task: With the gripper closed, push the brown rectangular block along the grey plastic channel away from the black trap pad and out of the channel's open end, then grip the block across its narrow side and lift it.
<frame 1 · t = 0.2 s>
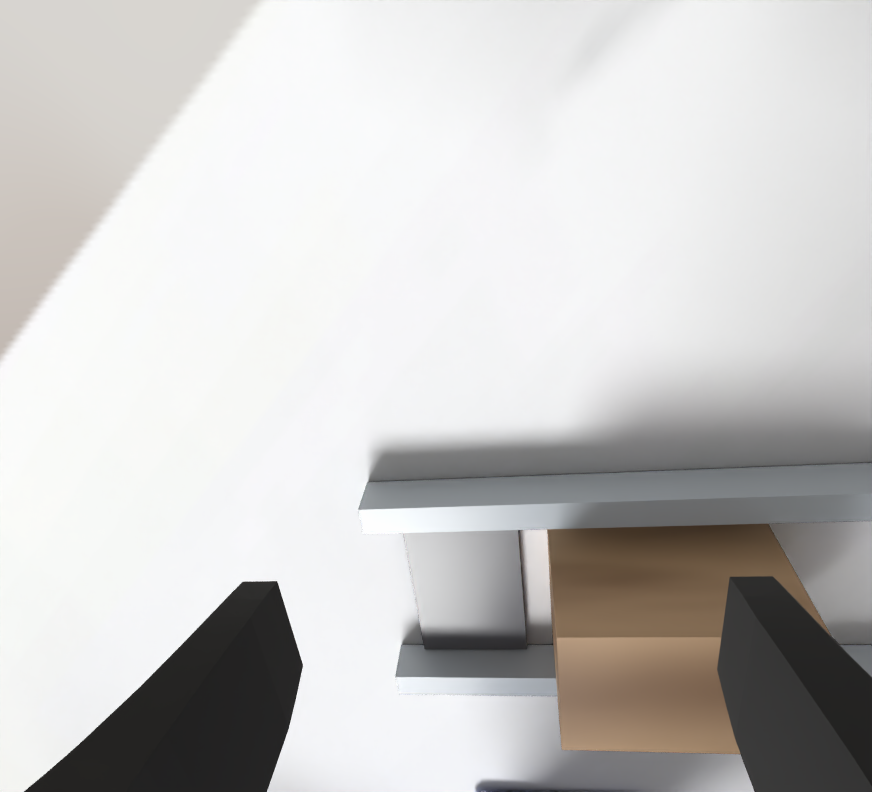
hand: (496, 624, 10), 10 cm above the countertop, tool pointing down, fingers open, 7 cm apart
channel: (664, 575, 22), on the countertop
brown rectangular block: (649, 572, 22), on the countertop
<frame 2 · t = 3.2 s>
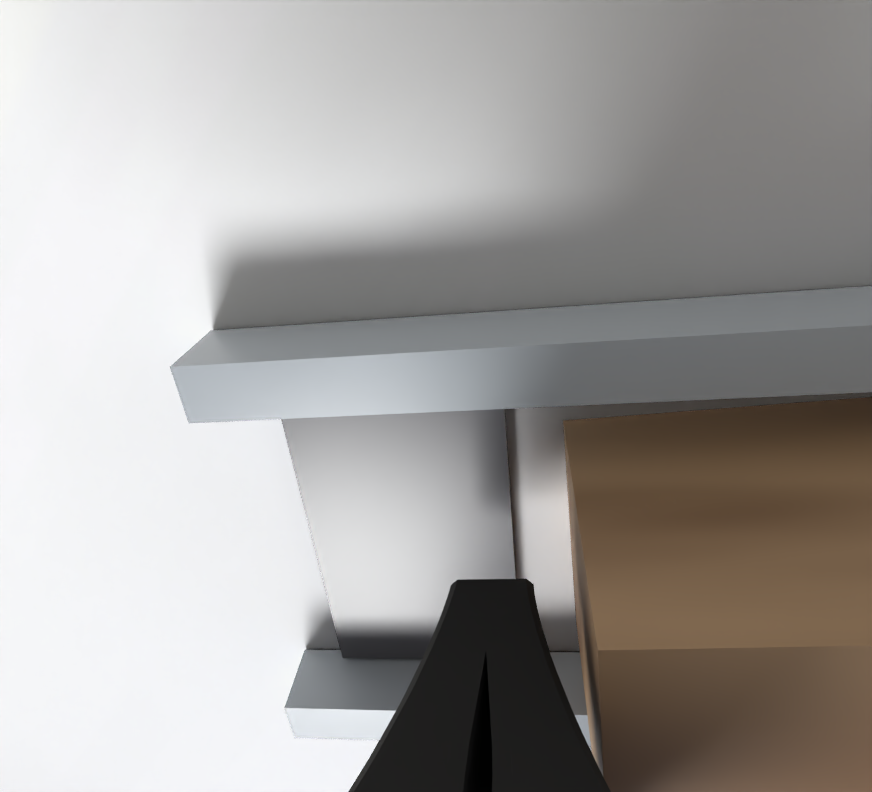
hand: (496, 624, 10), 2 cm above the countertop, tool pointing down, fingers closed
channel: (784, 522, 11), on the countertop
brown rectangular block: (760, 519, 12), on the countertop, touching gripper
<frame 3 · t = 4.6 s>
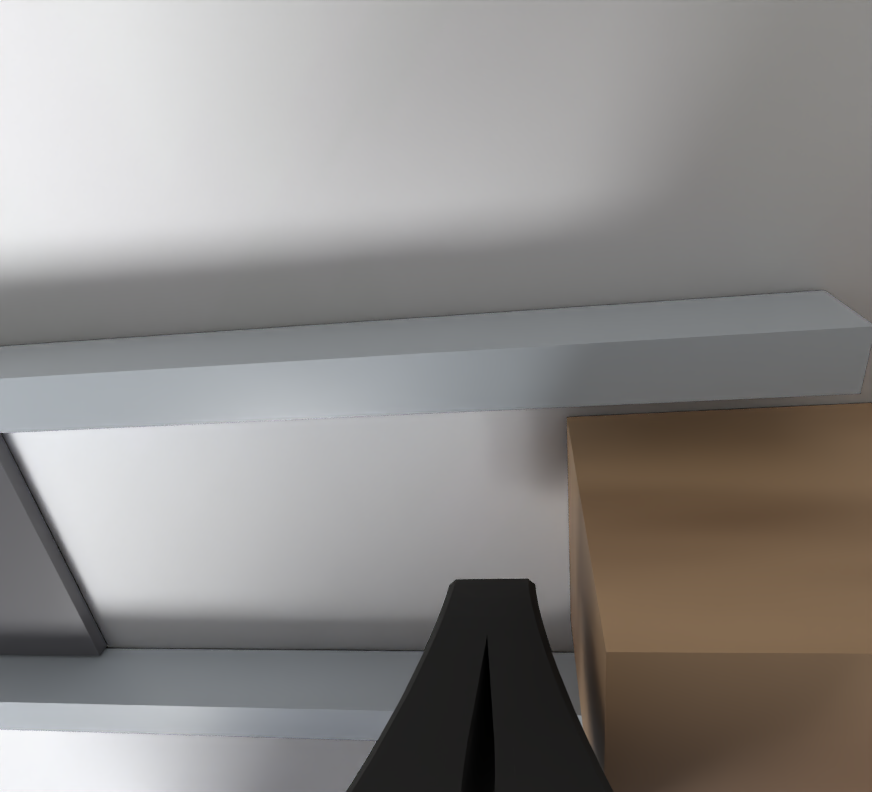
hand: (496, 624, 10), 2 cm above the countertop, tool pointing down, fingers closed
channel: (269, 533, 13), on the countertop
brown rectangular block: (760, 524, 12), on the countertop, touching gripper
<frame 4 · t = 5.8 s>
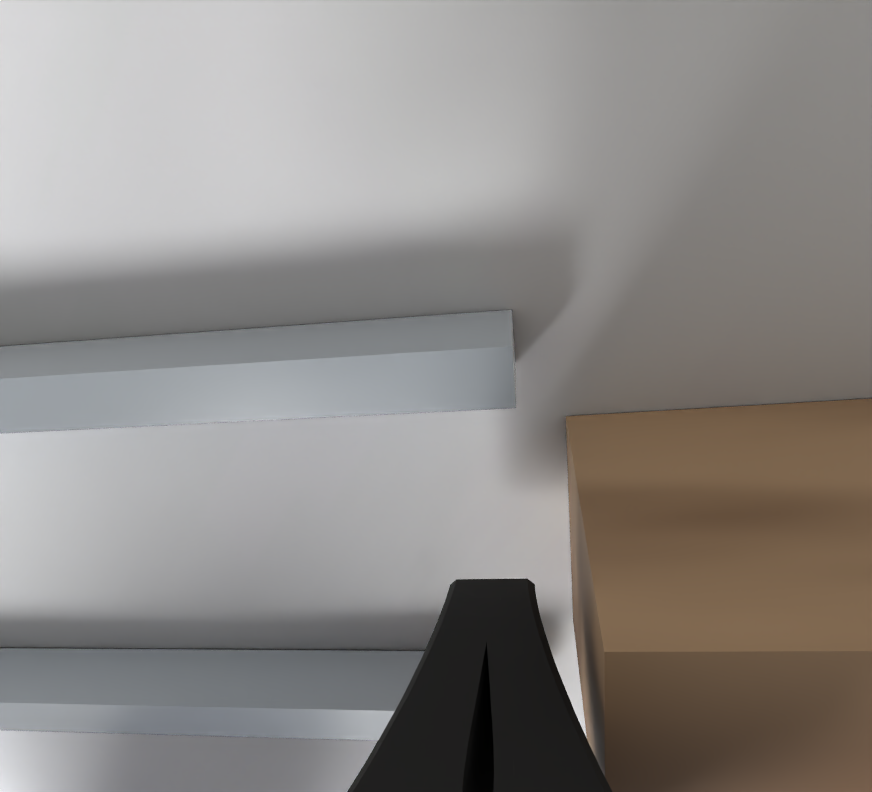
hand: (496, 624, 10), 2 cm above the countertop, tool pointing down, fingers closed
channel: (63, 537, 14), on the countertop
brown rectangular block: (761, 521, 12), on the countertop, touching gripper
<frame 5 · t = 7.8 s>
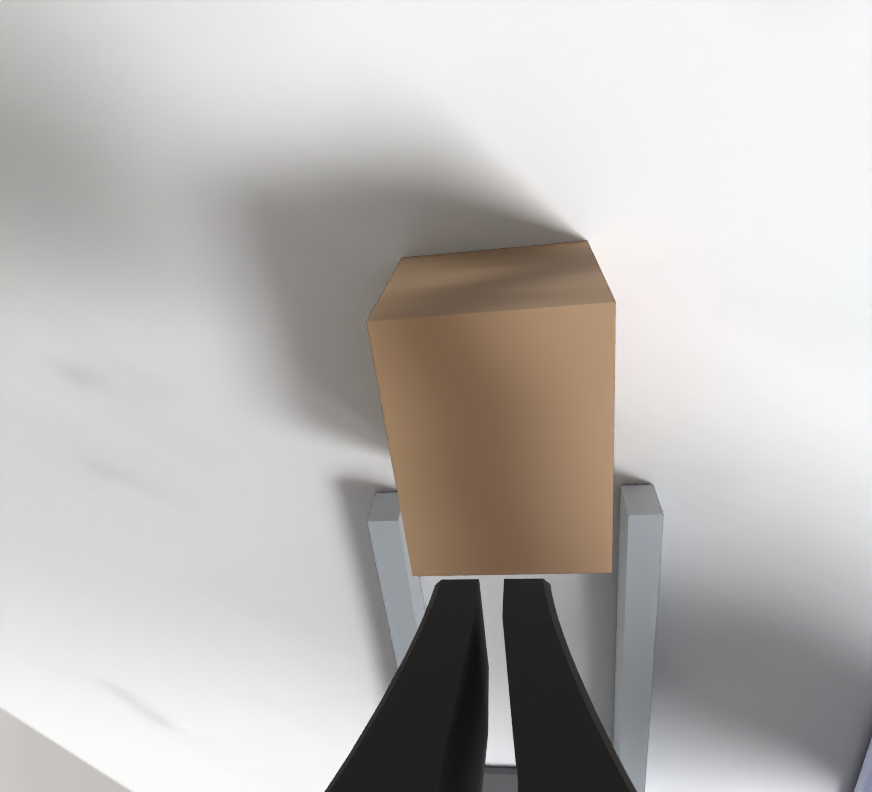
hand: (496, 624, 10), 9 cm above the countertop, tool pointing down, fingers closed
channel: (524, 692, 25), on the countertop
brown rectangular block: (501, 364, 18), on the countertop
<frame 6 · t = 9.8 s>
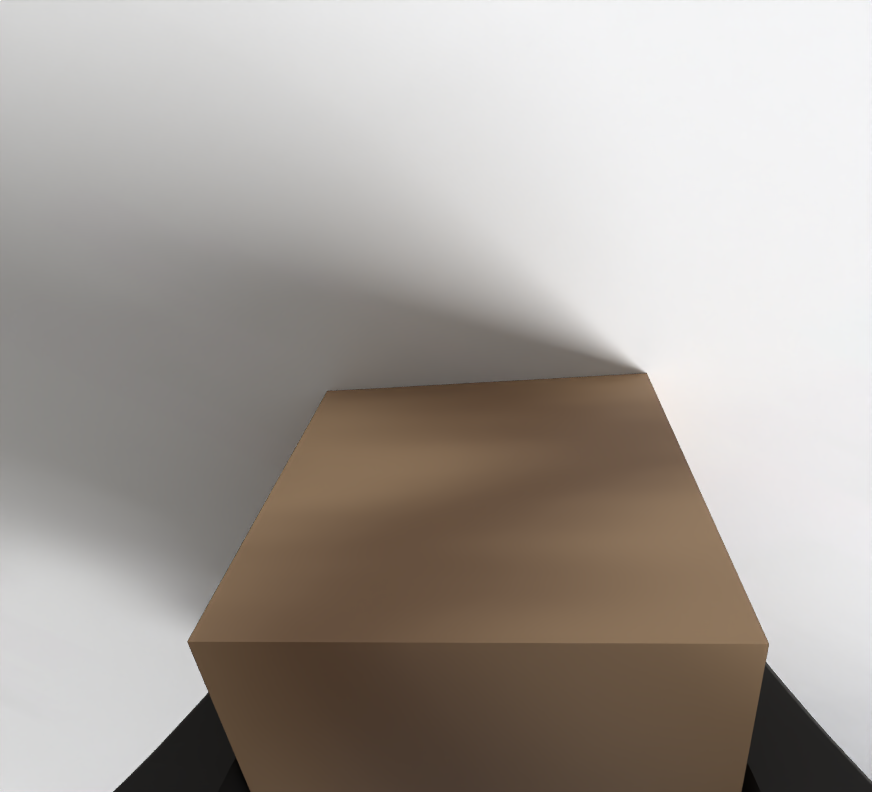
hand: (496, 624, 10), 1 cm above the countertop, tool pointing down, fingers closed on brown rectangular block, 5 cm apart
brown rectangular block: (496, 553, 11), on the countertop, touching gripper
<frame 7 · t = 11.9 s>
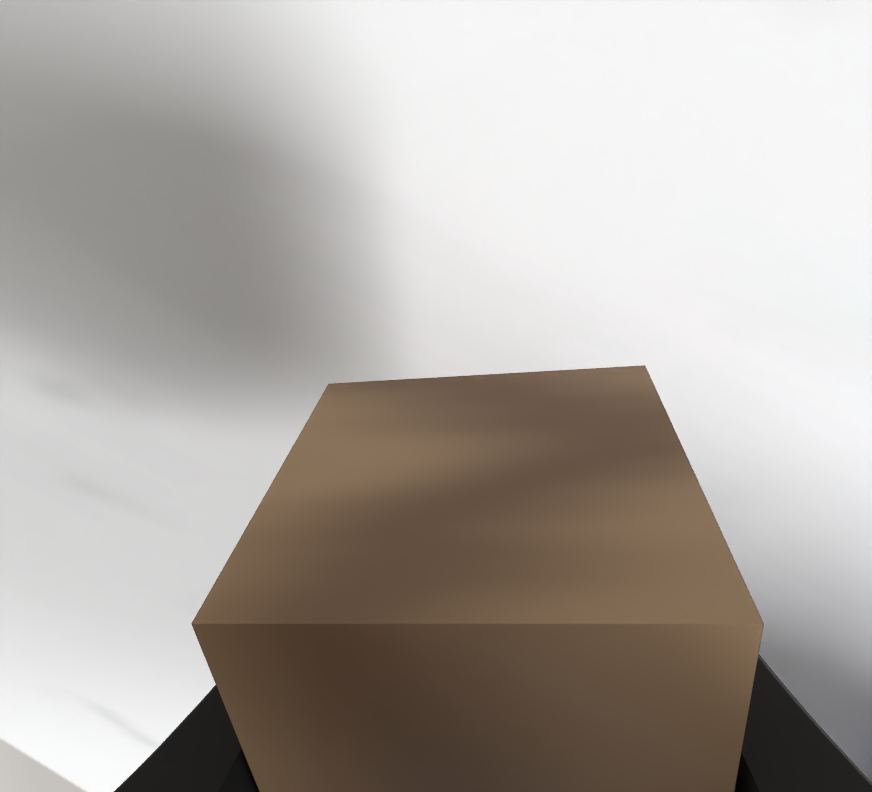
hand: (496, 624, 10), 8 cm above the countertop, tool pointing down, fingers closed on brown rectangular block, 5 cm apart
brown rectangular block: (496, 546, 11), point 7 cm above the countertop, touching gripper
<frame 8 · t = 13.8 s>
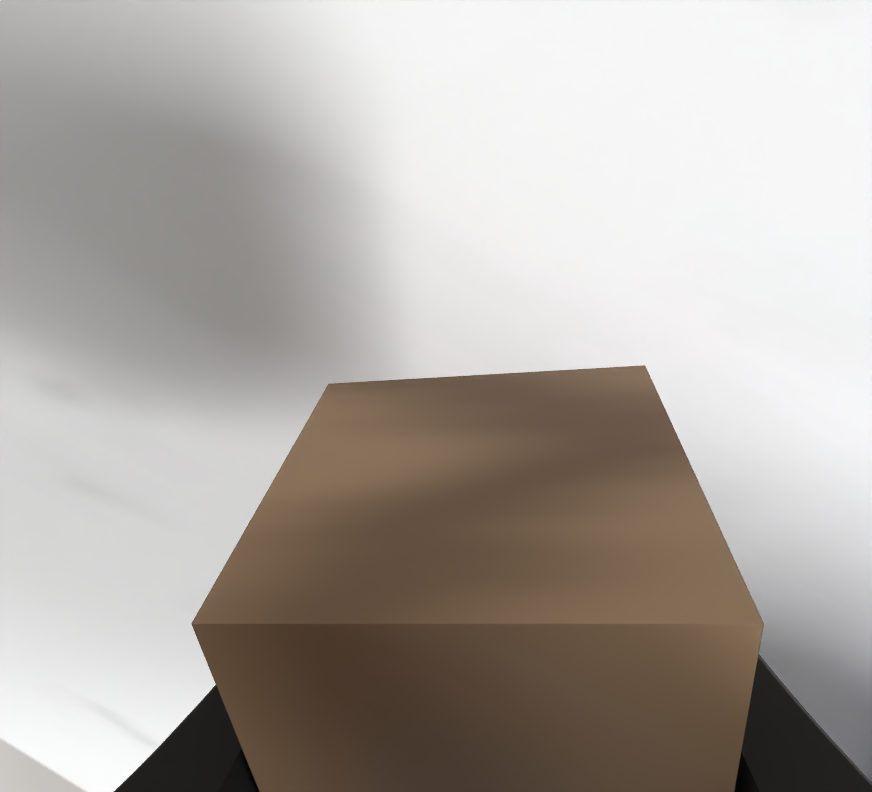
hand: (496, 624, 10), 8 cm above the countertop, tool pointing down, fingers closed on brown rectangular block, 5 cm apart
brown rectangular block: (496, 546, 11), point 7 cm above the countertop, touching gripper
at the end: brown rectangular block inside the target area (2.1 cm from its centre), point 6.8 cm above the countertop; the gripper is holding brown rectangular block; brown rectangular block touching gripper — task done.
